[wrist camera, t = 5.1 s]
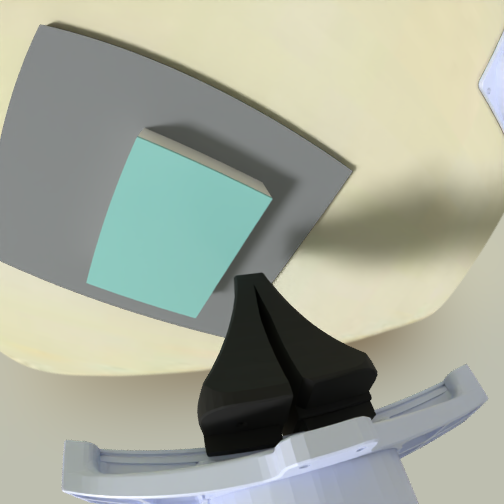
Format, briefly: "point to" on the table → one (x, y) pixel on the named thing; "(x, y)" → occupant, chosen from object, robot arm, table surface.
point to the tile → (174, 225)
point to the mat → (116, 154)
